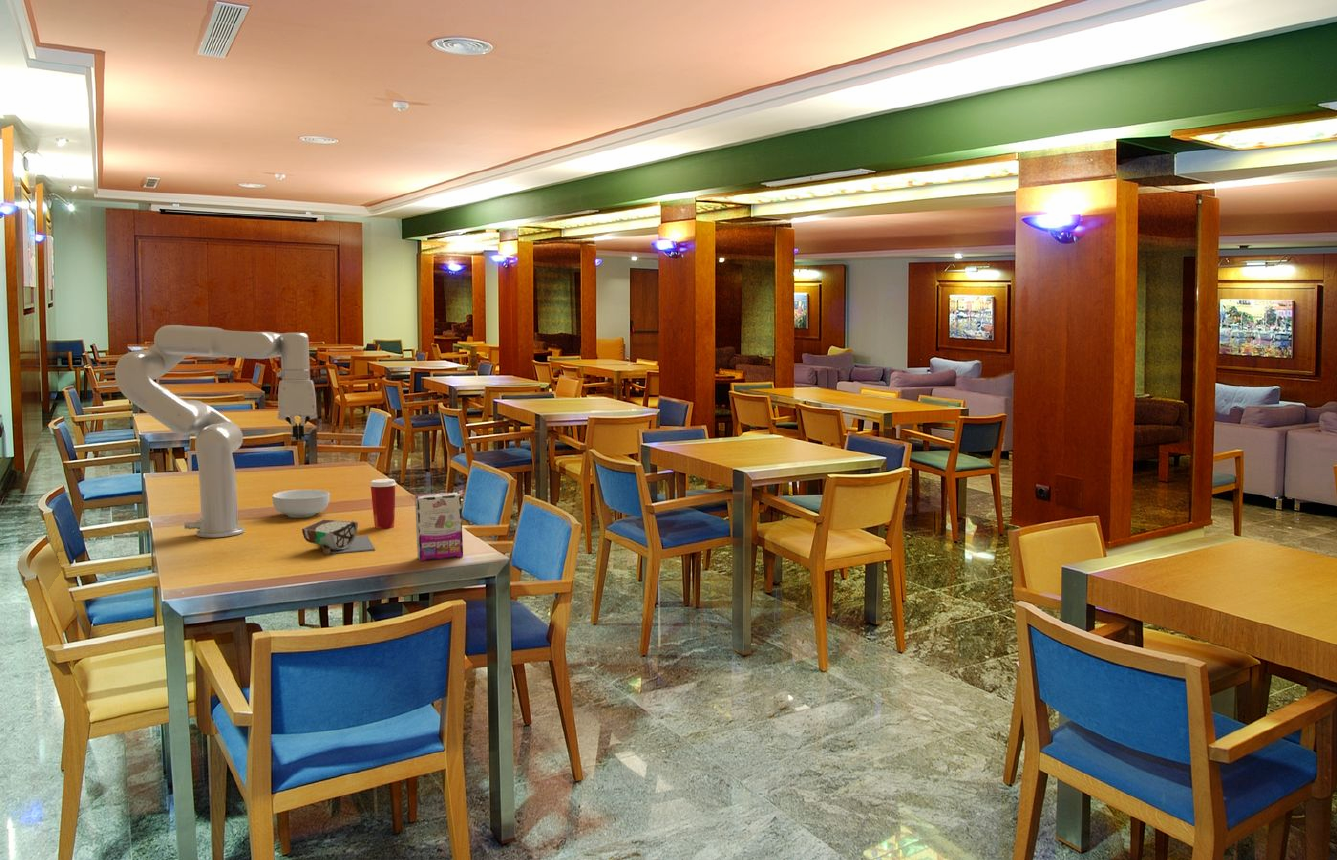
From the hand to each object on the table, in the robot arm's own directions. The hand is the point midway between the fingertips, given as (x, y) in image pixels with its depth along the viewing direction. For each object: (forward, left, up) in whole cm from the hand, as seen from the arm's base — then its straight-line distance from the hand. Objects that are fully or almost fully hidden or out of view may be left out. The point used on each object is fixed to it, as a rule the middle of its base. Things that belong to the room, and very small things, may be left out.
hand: (298, 439), depth 281 cm
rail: (+5, -25, -27) cm, 37 cm away
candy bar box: (+31, -49, -27) cm, 64 cm away
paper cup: (+23, -3, -27) cm, 36 cm away
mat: (+11, -25, -27) cm, 38 cm away
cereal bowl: (+1, +26, -27) cm, 38 cm away
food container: (+2, -25, -23) cm, 34 cm away
